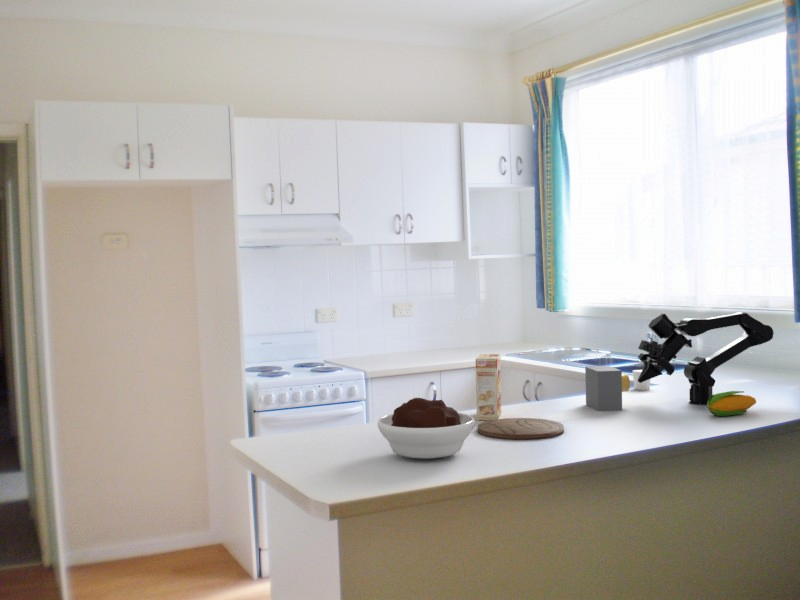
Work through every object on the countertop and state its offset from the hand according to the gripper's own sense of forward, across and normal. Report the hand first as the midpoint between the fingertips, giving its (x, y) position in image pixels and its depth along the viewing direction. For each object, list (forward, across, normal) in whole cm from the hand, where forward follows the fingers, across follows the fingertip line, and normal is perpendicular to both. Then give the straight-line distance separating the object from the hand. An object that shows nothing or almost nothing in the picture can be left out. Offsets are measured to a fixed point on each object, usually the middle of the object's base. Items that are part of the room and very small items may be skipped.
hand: (638, 381), depth 278 cm
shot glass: (-5, -36, +16) cm, 40 cm away
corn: (-10, +21, +21) cm, 32 cm away
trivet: (+40, +33, -28) cm, 59 cm away
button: (+7, 0, -3) cm, 8 cm away
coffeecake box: (+43, +8, -31) cm, 54 cm away
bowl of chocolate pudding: (+62, +59, -50) cm, 99 cm away
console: (+14, 0, -3) cm, 15 cm away
